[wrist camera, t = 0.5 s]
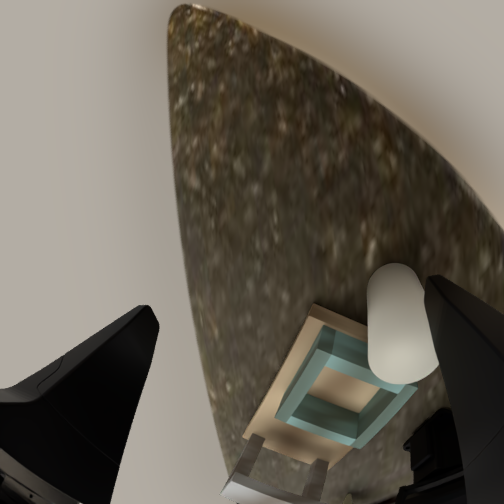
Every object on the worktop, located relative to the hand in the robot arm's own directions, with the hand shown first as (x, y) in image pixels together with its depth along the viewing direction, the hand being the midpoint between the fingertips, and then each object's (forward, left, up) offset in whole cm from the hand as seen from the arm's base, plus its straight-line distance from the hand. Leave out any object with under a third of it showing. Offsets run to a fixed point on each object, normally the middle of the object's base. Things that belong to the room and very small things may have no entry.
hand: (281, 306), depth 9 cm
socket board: (-6, +14, -12) cm, 20 cm away
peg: (-6, +2, -12) cm, 14 cm away
